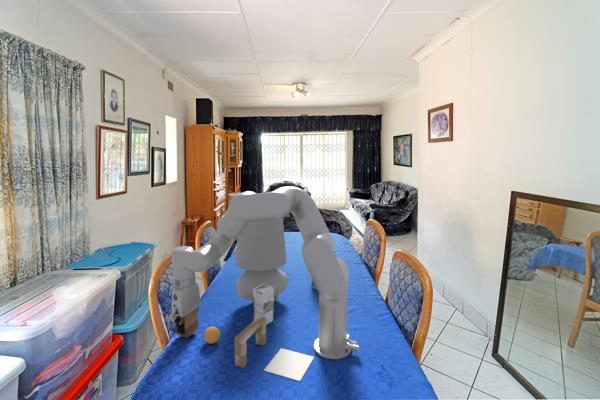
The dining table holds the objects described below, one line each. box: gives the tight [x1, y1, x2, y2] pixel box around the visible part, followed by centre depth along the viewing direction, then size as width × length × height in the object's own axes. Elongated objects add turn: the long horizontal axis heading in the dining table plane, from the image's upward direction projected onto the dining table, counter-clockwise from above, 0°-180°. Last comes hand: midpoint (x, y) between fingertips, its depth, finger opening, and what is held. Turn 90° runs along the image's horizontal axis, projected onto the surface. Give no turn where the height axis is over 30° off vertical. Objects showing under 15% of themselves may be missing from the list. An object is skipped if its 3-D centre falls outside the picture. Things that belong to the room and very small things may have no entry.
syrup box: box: [252, 284, 275, 326], centre depth 126 cm, size 6×6×14 cm
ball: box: [203, 326, 221, 345], centre depth 113 cm, size 6×6×6 cm
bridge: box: [233, 316, 267, 368], centre depth 107 cm, size 3×14×9 cm, turn 157°
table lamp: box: [235, 217, 289, 303], centre depth 140 cm, size 23×22×40 cm
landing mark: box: [263, 347, 315, 382], centre depth 102 cm, size 12×12×1 cm
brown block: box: [174, 309, 199, 339], centre depth 117 cm, size 5×6×8 cm
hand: (187, 327), depth 118 cm, fingers closed on brown block, 6 cm apart
